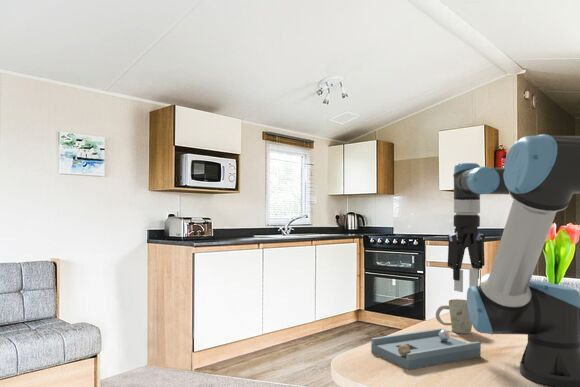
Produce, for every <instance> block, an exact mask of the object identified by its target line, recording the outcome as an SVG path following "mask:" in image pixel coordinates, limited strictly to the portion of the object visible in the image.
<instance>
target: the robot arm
mask: <svg viewBox="0 0 580 387" xmlns="http://www.w3.org/2000/svg"><path fill="white" fill-rule="evenodd" d="M505 156H506V157H505V160H504V163H503V167H489V166H480V164H478V163H476V162H475V163H474V162H464V163H462V162H461V163H457V164H455V165H454V169H453V175H452V177H453V213H454V215H453V227H455V231H454V233H452V234H450V233H449V234H447V235H446V236H447V241H448V247H447V251H448V252H447V267H448V268H450V269H452V273H453V274H452V279H453V280H454V281H453V283H454V286H453V291H454V292H460V293H464V270H463V269H462V265H463V260H464V256H465V253H466V249H467V251H468V255H469V256H468V257H469V261H470V266H471V267H469V271H468V272H469V278H468V280H469V283H468V284H469V286H468V288H467V291H466V300H467V307H468V313H469V317H470V320H471V323H472V328H473V329H474V330H475V331H477V332H478V333H479V334H485V335H486V334H488V335H492V336H493V335H527V343H526V346H525V349H524V352H523V355H522V356H521V360H520V362H519V372H520V374H521V375H522V376H523V377H525V379H528V380H530V381H532V382H536V383H538V384H543V385H545V386H550V387H580V293H579V291H578V290H576V288H575V289H574V288H572V287H569V286H565V285H562V284H556V283H550V282H546V281H540V280H539V281H538V280H531V279H532V277H533V274H534V271H535V269H536V266H537V264H538V261H539V258H540V256H541V253H542V251H543V249H544V246H545V244H546V240H547V238H548V236H549V233H550V230H551V228H552V225H553V222H554V220H555V217H556V214H557V213H558V212H561V211H564V210H566V208H568V206H569V204H570V202H571V199H572V197H573V195H574V194H577V195H578V194H580V135H550V134H543V133H542V134H537V135H525V136H523V137H521V138H519V139H517V140H516V141H515V142H514V143H513V144H512V145H511V147H509V149H508V152H507V154H506V155H505ZM481 195H510V197H511V198H512V199H513V200H512V204H511V206H510V209H509V213H508V215H507V219H506V223H505V226H504V229H503V232H502V235H501V237H500V238H501V239H500V242H499V243H498V244H499V245H498V248H497V250H496V253H495V257H494V260H493V263H492V267H491V269H490V272H488V273H486V274H484V275H483V276H482V277H481V279H480V270H482V269H483V267H484V266H485V264H486V263H485V262H486V261H485V239H486V234H485V233H479V231H478V228H479V227H480V226H481V216H480V215H479V214H480V213H481ZM479 279H480V282H479Z"/></svg>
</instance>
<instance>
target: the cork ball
mask: <svg viewBox="0 0 580 387" xmlns="http://www.w3.org/2000/svg"><path fill="white" fill-rule="evenodd" d="M398 352H399V354H400V355H401V356H403V357H406V353H410V352H411V350H410V347H409V346H408V345H406V344H401V345H400V346H399V348H398Z"/></svg>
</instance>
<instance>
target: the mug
mask: <svg viewBox="0 0 580 387" xmlns="http://www.w3.org/2000/svg"><path fill="white" fill-rule="evenodd" d="M442 310H449V315H450V316H449V317H450V322H444V321H443V320H442V319H441V316H440V315H441V314H440V313H441V312H442ZM435 319H436V321H437V322H438V323H440V324H441V325H443V326H451V331H452V332H454V333H457V334H461V335H462V334H463V335H465V334H466V335H469V334H471V333H472V329H473V325H472V323H471V320H470V317H469V313H468V307H467V299H458V298H457V299H455V298H454V299H449V300H448V305H439V307H438V308H437V309H436V311H435Z"/></svg>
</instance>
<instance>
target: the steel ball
mask: <svg viewBox="0 0 580 387" xmlns="http://www.w3.org/2000/svg"><path fill="white" fill-rule="evenodd" d="M438 337H439V339H440V340H441V341H444V342H445V341H448V340H449V337H451V336H450V332H448V331H447V330H445V329H444V330H443V329H442V331H440V332H439V334H438Z"/></svg>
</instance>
